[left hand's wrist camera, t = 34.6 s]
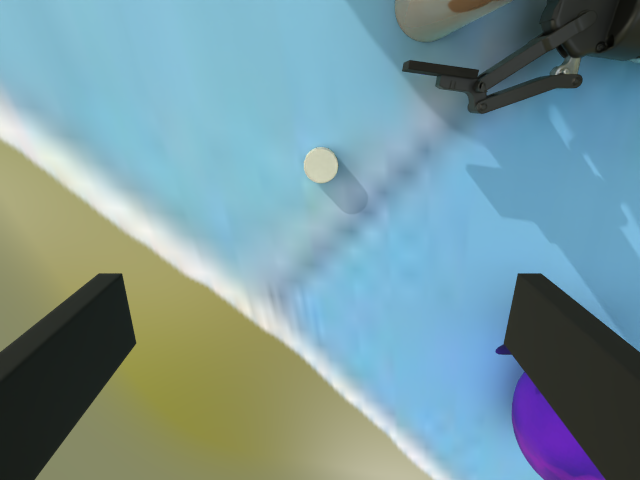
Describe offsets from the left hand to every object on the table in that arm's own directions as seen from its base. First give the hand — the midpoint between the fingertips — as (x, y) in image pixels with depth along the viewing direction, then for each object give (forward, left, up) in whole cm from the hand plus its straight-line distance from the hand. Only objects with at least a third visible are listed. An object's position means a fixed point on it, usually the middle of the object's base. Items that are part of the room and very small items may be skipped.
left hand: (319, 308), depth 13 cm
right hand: (+13, +13, -28) cm, 34 cm away
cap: (0, 0, -33) cm, 33 cm away
